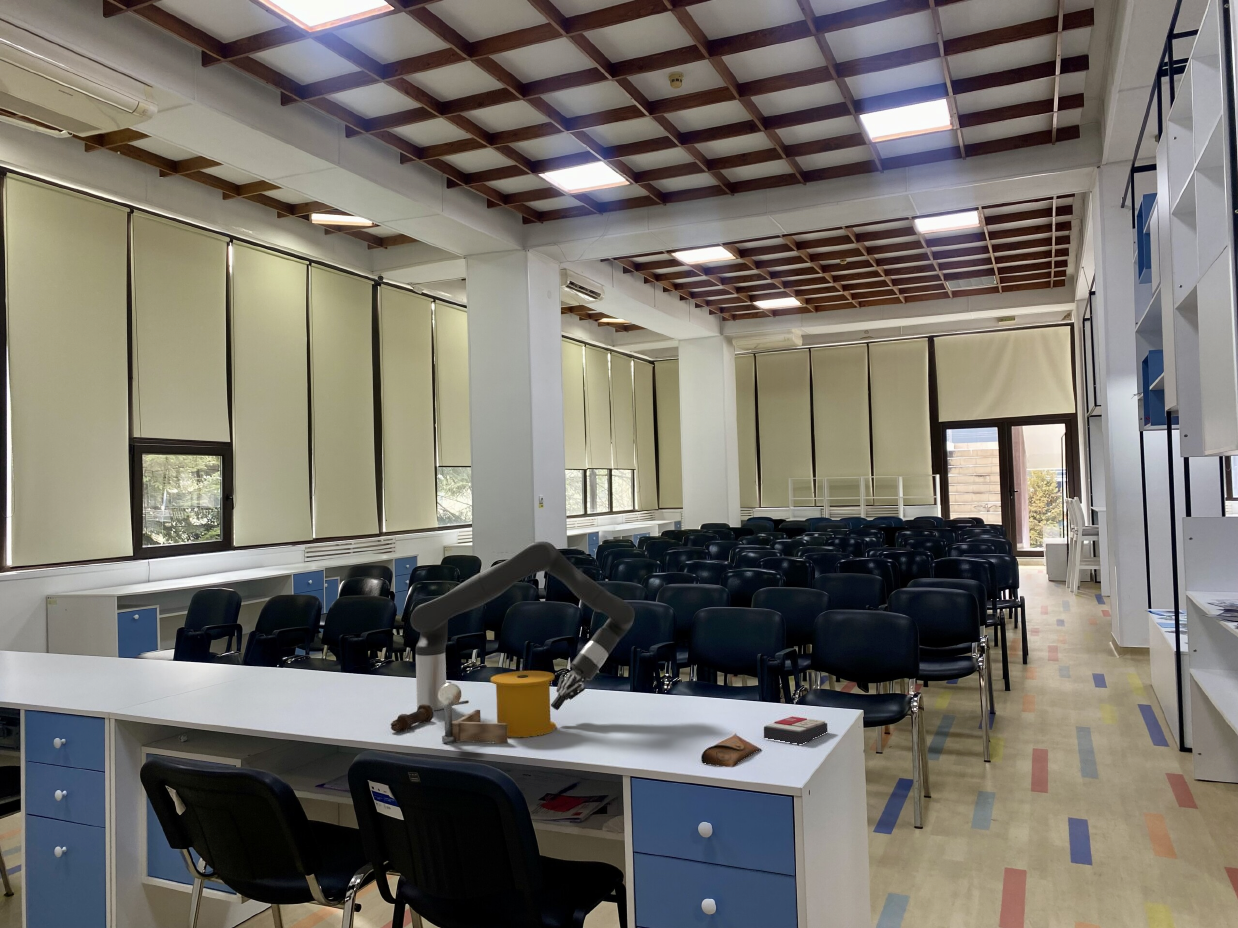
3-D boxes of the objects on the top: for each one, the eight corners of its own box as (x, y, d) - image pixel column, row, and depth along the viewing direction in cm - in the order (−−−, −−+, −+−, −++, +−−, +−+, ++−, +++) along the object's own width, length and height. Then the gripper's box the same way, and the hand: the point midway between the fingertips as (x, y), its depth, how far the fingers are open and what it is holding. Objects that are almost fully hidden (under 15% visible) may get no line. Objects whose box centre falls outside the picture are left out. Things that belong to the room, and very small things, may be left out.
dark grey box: (828, 719, 239) (800, 729, 227) (828, 736, 238) (800, 746, 227) (791, 714, 246) (762, 723, 234) (791, 730, 245) (763, 740, 234)
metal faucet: (441, 745, 238) (439, 685, 238) (436, 742, 241) (434, 682, 242) (472, 740, 242) (471, 680, 243) (467, 737, 246) (465, 678, 247)
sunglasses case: (733, 767, 210) (719, 741, 212) (710, 779, 213) (697, 753, 215) (763, 748, 225) (750, 724, 227) (742, 760, 228) (729, 735, 230)
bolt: (392, 739, 253) (425, 725, 267) (404, 732, 252) (436, 717, 265) (383, 720, 255) (416, 707, 268) (395, 713, 253) (428, 700, 266)
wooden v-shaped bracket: (464, 750, 232) (463, 731, 232) (437, 733, 251) (437, 715, 251) (508, 742, 238) (508, 723, 239) (479, 726, 257) (479, 709, 257)
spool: (500, 721, 262) (499, 670, 263) (561, 721, 260) (559, 669, 261) (484, 737, 244) (483, 682, 245) (549, 737, 242) (547, 682, 243)
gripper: (571, 649, 269) (535, 695, 262) (592, 655, 257) (555, 704, 251) (587, 664, 271) (552, 711, 264) (609, 671, 260) (572, 720, 253)
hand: (553, 707), depth 257 cm, fingers closed
